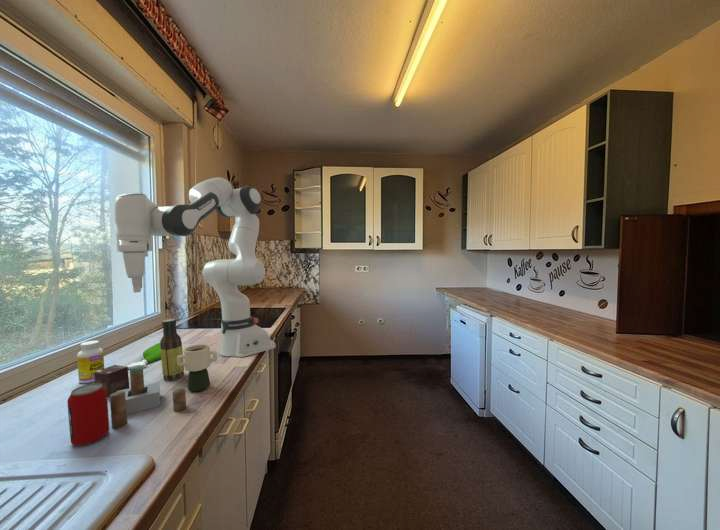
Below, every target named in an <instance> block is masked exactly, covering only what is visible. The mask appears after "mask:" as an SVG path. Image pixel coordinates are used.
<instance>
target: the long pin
mask: <svg viewBox="0 0 720 530" xmlns="http://www.w3.org/2000/svg"><path fill="white" fill-rule="evenodd" d="M129 384H130V388H131V396H134V395H138V394H143V393H145V392H144V385H145V378H144V368H143V365H136V366H133V367H130V369H129Z"/></svg>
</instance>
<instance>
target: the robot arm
mask: <svg viewBox="0 0 720 530" xmlns="http://www.w3.org/2000/svg"><path fill="white" fill-rule="evenodd" d="M188 199H189V201H190V203H189V204H175V205H167V206H160V205H158V204H156V203H155V202H153V201H152V200H150V198H148V196H147V194H145V193H140V192H139V193H138V192H136V193H135V192H134V193H122V194H119V195H117V196H116V199H115V202H114V220H115V221H114V222H115V225H116V229H117V232H116V234H115V236H116V247H117V248H116V251H117V253H118V252H119V253H122V257H123V258H122V259H123V262H124V269H125V273H126V277H127V278H128V279H131V283H132V289H133V292H134V293H141V291H142V289H143V277H144V274H146V267H145V265H146V263H145V259H146V257H149V252H153V236H154V237H171V236H174V237H175V236H177V237H188V236H190V235H192V234H194V232H195V231H196V230H197V228H198V226H199V224H200V223H201V221H203V220H204V219H206V218H207V217H208V216H209V215H211V214H212V213H213V212H214V211H216V213H217V214H218V215H219V216H221V218H226V219H227V218H233V217H234V219H235V222H234V225H233V227H232V230H231V233H230V237H229V240H228V243H227V246H228V249H229V251H230V252H231V253H232V254H233V255H235V256H236V257H235V258H234V259H233V258H232V259H227V258H226V259H215V260H210V261H208V262H207V263H205V264H204V266H203V269H202V277H203V279H204V281H205V282H206V283H207V284H208V285H209V286H211V287H212V288H213V289H214V291H215V292H216V293H217V295H218V297H219V300H220V302H219V303H220V309H221V320H220V321H221V322H220V329H221V333H222V334H221V335H222V337H221V345H220V349H219V355H220V356H224V357H237V358H244V357H248V356H252V355H255V354H259V353H262V352H266V351H269V350H274V349H275V348H276V342H274V341H273V340H272V339H271V338H270V334H269V333H268V332H267V330H266V329H264V328H262V327H261V326H259V325H257V324H258V323H259V319H258V317H254V316H253V315H251V302H250V298H249V297H248V296H247V295H245V294H244V293H242V292H241V291H240V290H239V289H238V286H253V285H258V284H260V283H262V282H263V280H264V279H265V276H266V268H265V265H264V264H263V263H262V261H261V260H259V259H258V258H257V255H256V247H257V246H256V245H257V241H258V237H259V233H260V219H259V218H258V216H257V215H256V214H258V213H259V212H260V209H261V205H262V196H261V193H260V191H259V190H258V189H257V187H255V186H252V185H244V186H242V187H238V188H234V189H233V186H232V184H231V183H230V181H229V180H227V179H226V178H224V177H220V176H219V177H212V178H208V179H205V180H203V181H201V182H198V183H196V184H195V185H194V186H192V187H191V188H190V189H189V191H188Z"/></svg>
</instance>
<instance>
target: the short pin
mask: <svg viewBox="0 0 720 530" xmlns="http://www.w3.org/2000/svg"><path fill="white" fill-rule="evenodd" d="M186 396H187V395H186V389H185V388H177V389H175V390H173V391H172V403H173V404H172V405H173V406H172V407H173V412H175V413H179V412H182V411H184V410H186V409H187V397H186Z"/></svg>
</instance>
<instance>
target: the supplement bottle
mask: <svg viewBox="0 0 720 530" xmlns="http://www.w3.org/2000/svg"><path fill="white" fill-rule="evenodd" d="M99 345H100V341H99V340H89V341H85V342H81V343H80V349H81V350H80V351H79V352H77V354H76V357H77V358H76V359H77V371H78V373H77V375H78V376H77V377H78V382H79V383H80V384H91V383H95V382H94V381H95V375H94V372H96V371H99V370H102V369H105V359H104V356H105V355H104V349H103V348H101V347H99ZM90 382H91V383H90Z"/></svg>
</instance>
